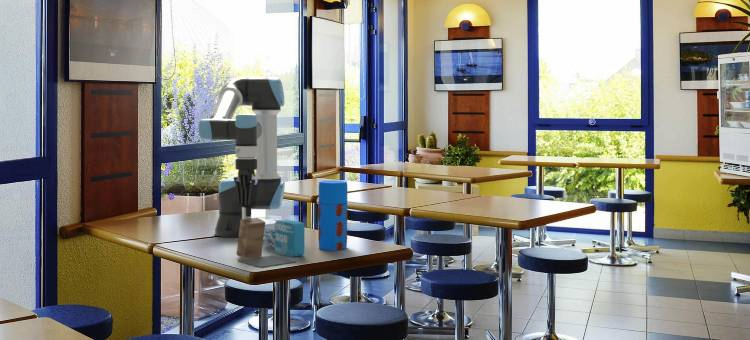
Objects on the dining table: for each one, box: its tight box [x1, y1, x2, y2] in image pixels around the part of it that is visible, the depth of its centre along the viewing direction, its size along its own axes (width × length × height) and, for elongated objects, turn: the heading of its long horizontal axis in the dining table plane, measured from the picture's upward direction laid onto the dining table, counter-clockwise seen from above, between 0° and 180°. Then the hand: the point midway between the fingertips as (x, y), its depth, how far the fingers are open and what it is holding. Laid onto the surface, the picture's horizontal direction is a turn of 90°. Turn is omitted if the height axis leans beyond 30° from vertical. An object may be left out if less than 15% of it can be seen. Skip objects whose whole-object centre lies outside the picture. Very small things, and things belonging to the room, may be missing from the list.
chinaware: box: [263, 222, 275, 248], centre depth 291 cm, size 15×15×8 cm
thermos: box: [318, 180, 348, 252], centre depth 287 cm, size 11×11×25 cm
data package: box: [274, 219, 306, 258], centre depth 274 cm, size 12×4×12 cm, turn 43°
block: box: [236, 217, 266, 260], centre depth 267 cm, size 5×7×13 cm
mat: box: [237, 254, 297, 269], centre depth 261 cm, size 14×14×1 cm
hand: (246, 225), depth 269 cm, fingers closed
